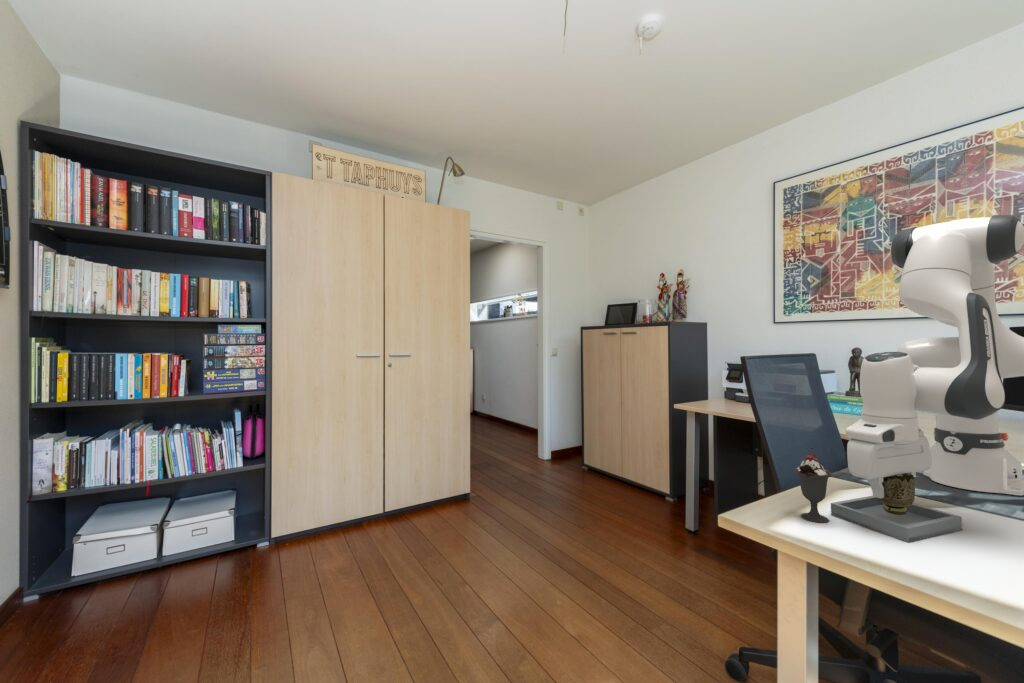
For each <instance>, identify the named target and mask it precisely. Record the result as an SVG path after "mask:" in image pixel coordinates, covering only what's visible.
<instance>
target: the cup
mask: <svg viewBox="0 0 1024 683" xmlns="http://www.w3.org/2000/svg"><path fill="white" fill-rule="evenodd" d="M902 476H903V477H901V475H894V476H888V477H883V482H881V483H882V485H883V488H884V489H885V490H886V491H887V497H886V498H877V497H875V498H876V499H877V500H878V501H879V502H880V503H882V504H884V506H883V508H884V510H885V511H886V512H888V513H890V514H895V515H905V514H906V513H907V509H906V507H908V506H910V505H911V504H912V503H914V501H915V498H916V477H917V476H916V477H914V476H913V475H908V474H907V473H906V474H903V475H902ZM870 488H871V489H872V487H871V486H870Z"/></svg>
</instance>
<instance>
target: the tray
mask: <svg viewBox="0 0 1024 683" xmlns="http://www.w3.org/2000/svg"><path fill="white" fill-rule="evenodd" d="M883 506H884V504H882V503H880V502H879V501H878V500H877V499H876V498H875V497H874V496H873V495H868V496H863V497H856V498H851V499H846V500H841V501H835V502H830V515H831V516H833V517H835V518H836V517H837V518H839V519H842V520H844V521H847V522H850V523H852V522H853V523H852V524H855V523H856V525H858V524H859V525H858V526H860V527H863V528H867V529H869V530H872V531H874V532H877V531H878V533H880V532H881V533H880V534H883V533H884V535H886V534H887V535H886V536H889V535H890V536H889V537H891V536H892V537H891V538H894V537H895V539H898V540H901V541H903V542H905V541H906V543H908V544H909V543H914V542H917V541H920V540H925V539H930V538H933V537H938V536H943V535H947V534H951V533H955V531H956V532H960V531H963V520H962V519H963V517H962V516H960V515H956V514H953V513H949V512H946V511H942V510H938V509H934V508H931V507H928V506H924V505H920V504H918V503H914V502H913V503H912V504H911V505H910V506H908V507H906V509H907V513H906V514H905V515H895V514H890V513H888V512H886V511H885V510H884V508H883Z"/></svg>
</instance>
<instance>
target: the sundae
mask: <svg viewBox="0 0 1024 683" xmlns="http://www.w3.org/2000/svg"><path fill="white" fill-rule="evenodd" d="M810 449H811V452H810V454H809V455H806V458H804V459H803V460H802V461H801V463H800V465H799V466H797V468H794V469H793V470H794V472H796V474H797V475H798V479H799V485H800V490H801V494H802V496H803V497H804V498H805V499H806V500H807V501H809V503H810V509H809V510H810V511H809V512H804V513H803V512H802V513H801V514H800V517H801V518H802V519H804V520H806V521H808V520H809V521H808V522H813V523H819V524H825V523H828V522H830V520H829V518H828V517H826V516H824V515H821V514H820V513H819V509H818V504H819V503H820V502H822V501H824V499H825V498H826V494H827V489H828V488H827V487H828V480H829V478H831V477H833V474H832V472H831V471H829V470H828V469H825V467H824V466H823V465H822V464H820V462H819V460H818V458H816V454H815V452H814V446H813V447H811V446H810ZM812 454H813V456H812Z"/></svg>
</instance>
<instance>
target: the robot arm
mask: <svg viewBox="0 0 1024 683" xmlns="http://www.w3.org/2000/svg"><path fill="white" fill-rule="evenodd" d="M1023 246H1024V225H1023V223H1022V221H1021V219H1020V218H1018V217H1017V216H1015V215H1011V214H996V215H995V214H993V215H991V216H983V217H982V216H981V217H970V218H969V217H968V218H966V217H965V218H959V219H952V220H949V221H944V222H938V223H932V224H928V225H923V226H919V227H917V226H913V227H910V228H909V227H908V228H906V229H903V230H900V231H899V232H898V233H897V234H896V235H894V237H893V239H892V241H891V244H890V250H889V254H890V257H891V260H892V263H893V264H894V265H895V266H897V267H898V268H900V269H902V271H901V277H900V281H899V285H898V286H899V287H898V296H899V297H898V298H899V300H900V301H901V303H902V304H903V306H904V307H905V308H906V309H908V310H910V311H911V312H913V313H915V314H917V315H920V316H923V317H925V318H929V319H930V318H931V319H934V320H936V321H938V322H940V323H942V324H944V325H948V326H951V327H955V328H957V331H958V336H949V337H948V336H947V337H946V336H945V337H944V336H943V337H923V338H917V339H912V340H908V341H907V340H906V341H904V342H902V343H901V344H900V346H898V348H897V350H896V351H883V352H875V353H871V354H868V355H867V356H865V357H864V358H863V359H862V361H861V365H860V366H861V367H860V374H859V392H860V393H859V394H860V396H861V400H862V408H861V412H860V416H861V418H859V419H858V420H856V422H854V423H853V424H851V425H849V426H847V427H845V437H846V438H847V439H849V440H848V442H847V444H846V445H847V446H846V455H847V458H846V460H847V468H848V471H849V473H850V474H851V475H852V476H854V477H857V478H860V479H865V480H867V482H868V483H869V486H870V488H871V487H872V488H871V491H872V496H874V497H877V498H886V497H887V491H886V490H885V489H884V488H883V485H882V483H881V482H883V477H888V476H894V475H897V476H898V475H899V476H901V477H903V476H902V475H903V474H906V473H907V474H908V475H913V476H914V477H917V472H923V476H925V477H928V478H929V479H930V480H931V481H933V482H935V483H939V484H940V485H945V486H948V487H953V488H957V489H962V490H968V491H974V492H975V491H976V492H984V493H994V494H1006V495H1013V496H1024V476H1023V475H1024V473H1023V466H1022V462H1021V461H1020V460H1019V459H1018V458H1016V457H1015V456H1014V455H1013V454H1011V453H1010V452H1009V451H1008V450H1007V449H1005V442H1006V441H1008V440H1009V434H1008V433H1007V432H999V419H998V418H999V417H998V411H1000V410H1001V409H1003V407H1004V406H1005V402H1006V392H1005V388H1004V384H1003V380H1002V379H1009V378H1019V377H1024V336H1021V335H1019V334H1018V333H1016V332H1014V331H1013V330H1011V329H1010V328H1009V327H1007V326H1006V325H1005V323H1003V321H1002V320H1001V318H1000V317H999V316H1000V315H999V314H998V310H997V305H996V277H995V275H996V274H995V268H994V265H998V264H1000V263H1001V262H1003V261H1007V260H1010V259H1012V258H1013V257H1015V256H1016V255H1017V254H1019V253H1020V250H1021V249H1022V247H1023ZM917 411H918V412H921V413H930V414H934V416H935V424H936V426H935V428H934V429H933V430H934V431H933V435H934V441H935V443H934V444H933V445H931V446H930V442H929V440H928V438H927V436H925V433H924V431H923V430H922V429H921V428H920V426H919V417H918V416H919V415H918V412H917ZM1004 441H1005V442H1004Z"/></svg>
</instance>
